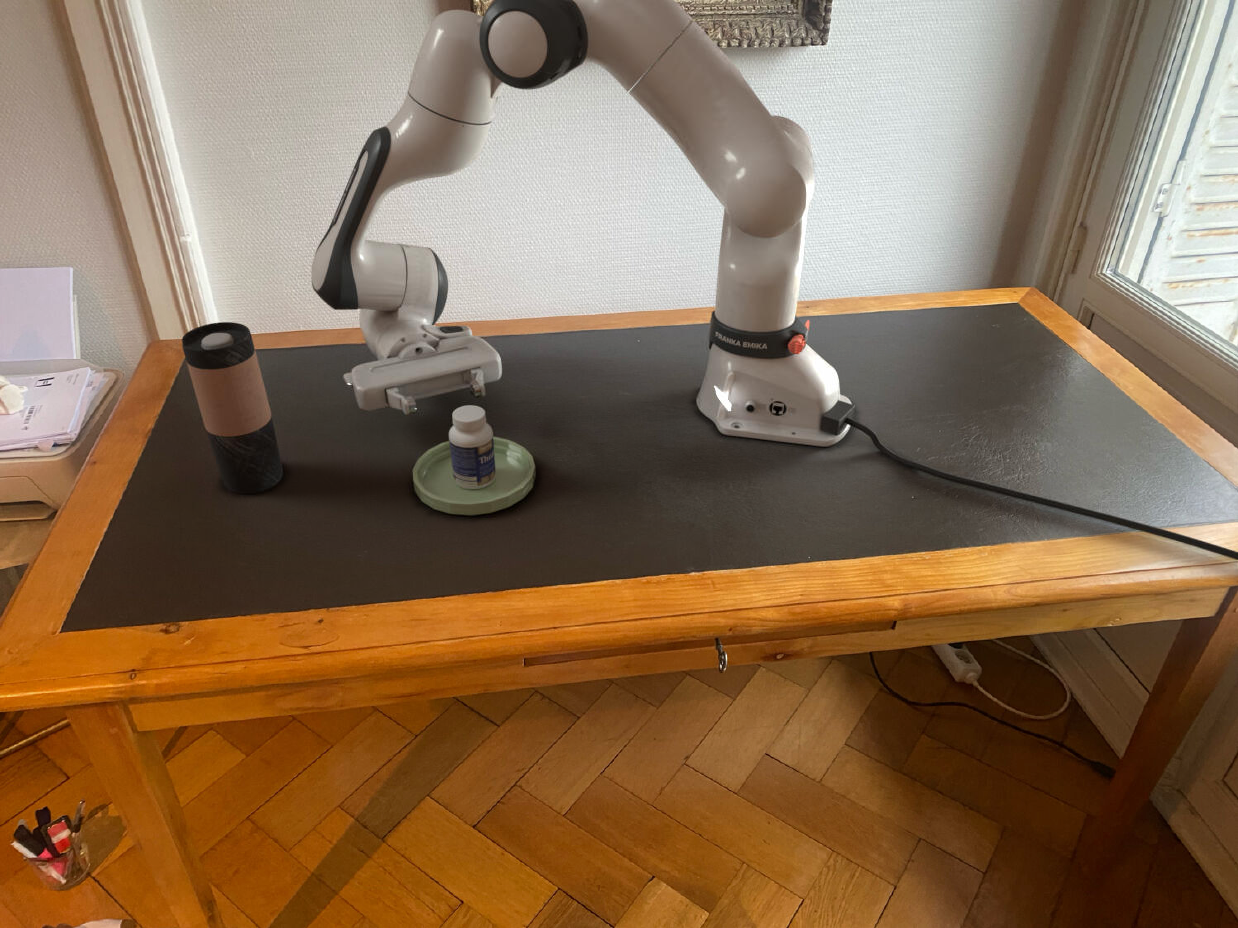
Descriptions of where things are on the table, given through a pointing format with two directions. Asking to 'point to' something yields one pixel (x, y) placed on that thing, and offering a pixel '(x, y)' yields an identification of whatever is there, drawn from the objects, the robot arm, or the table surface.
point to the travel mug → (234, 405)
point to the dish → (448, 497)
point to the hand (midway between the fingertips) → (446, 400)
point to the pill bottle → (472, 448)
